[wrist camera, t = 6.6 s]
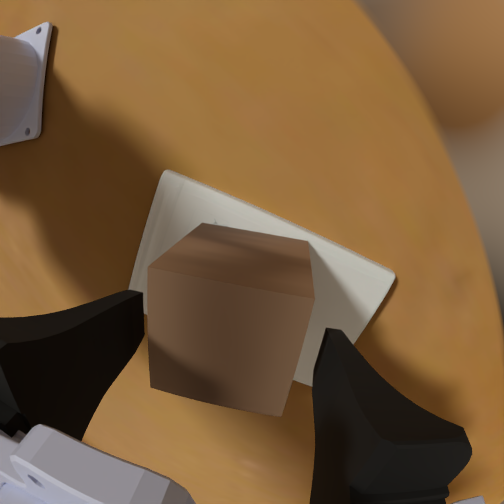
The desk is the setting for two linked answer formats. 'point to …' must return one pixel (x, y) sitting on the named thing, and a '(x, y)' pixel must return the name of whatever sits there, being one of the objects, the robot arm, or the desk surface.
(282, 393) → the walnut block
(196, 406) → the desk surface
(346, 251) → the external hard drive
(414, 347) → the desk surface
